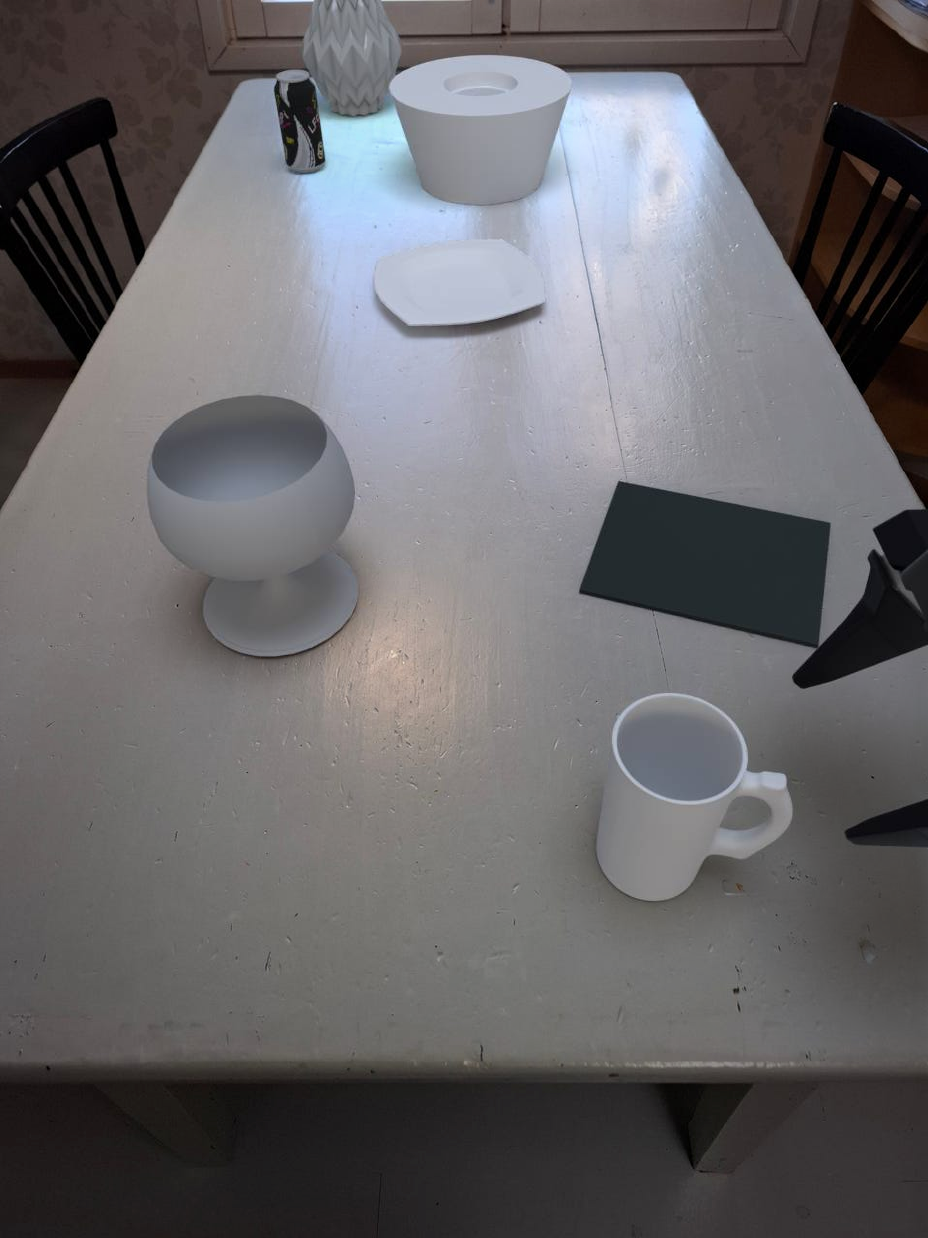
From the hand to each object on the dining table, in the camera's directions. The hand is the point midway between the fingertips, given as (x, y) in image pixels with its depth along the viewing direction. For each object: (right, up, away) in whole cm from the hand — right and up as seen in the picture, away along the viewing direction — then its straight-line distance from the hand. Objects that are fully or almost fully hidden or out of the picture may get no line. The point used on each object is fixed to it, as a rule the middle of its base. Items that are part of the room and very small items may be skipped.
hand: (820, 755), depth 43 cm
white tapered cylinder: (-16, +69, +78) cm, 105 cm away
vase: (-36, +91, +98) cm, 139 cm away
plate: (-19, +44, +56) cm, 74 cm away
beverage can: (-41, +73, +82) cm, 117 cm away
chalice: (-33, +8, +24) cm, 41 cm away
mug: (-5, -8, +9) cm, 13 cm away
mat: (+2, +12, +26) cm, 29 cm away
